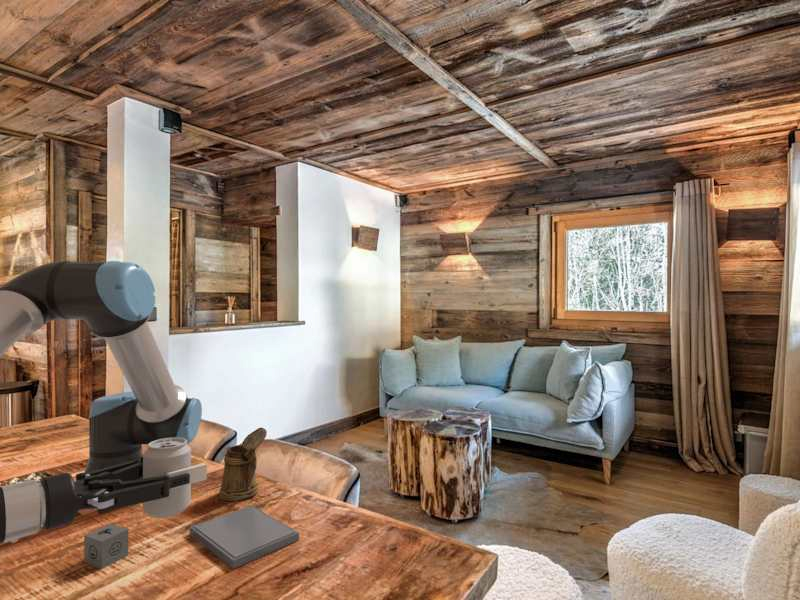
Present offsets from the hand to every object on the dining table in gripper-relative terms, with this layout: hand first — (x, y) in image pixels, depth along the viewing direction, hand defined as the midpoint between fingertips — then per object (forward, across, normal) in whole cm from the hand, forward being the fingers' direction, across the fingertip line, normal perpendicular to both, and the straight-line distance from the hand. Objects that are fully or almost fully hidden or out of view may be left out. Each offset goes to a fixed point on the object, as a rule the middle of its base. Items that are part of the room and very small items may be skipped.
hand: (195, 465), depth 86 cm
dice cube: (-11, -13, -18) cm, 25 cm away
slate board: (+11, -2, -18) cm, 21 cm away
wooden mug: (+21, -20, -18) cm, 34 cm away
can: (-5, 0, -7) cm, 8 cm away
